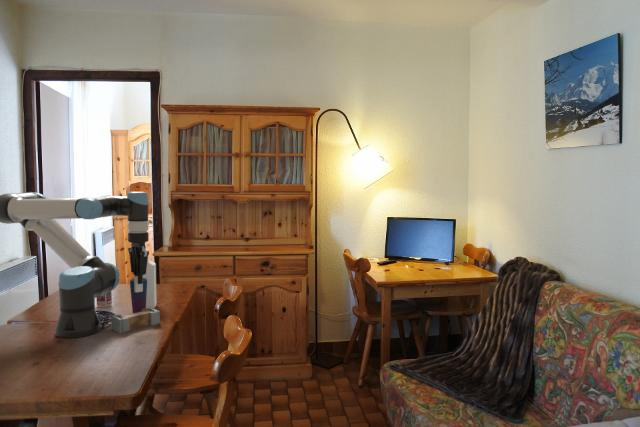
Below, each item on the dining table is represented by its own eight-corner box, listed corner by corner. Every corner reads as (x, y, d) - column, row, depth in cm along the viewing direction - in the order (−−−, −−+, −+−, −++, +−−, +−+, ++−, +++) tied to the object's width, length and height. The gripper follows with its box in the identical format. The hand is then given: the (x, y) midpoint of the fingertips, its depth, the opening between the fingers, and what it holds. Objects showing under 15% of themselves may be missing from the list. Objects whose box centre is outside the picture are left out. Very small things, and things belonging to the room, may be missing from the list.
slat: (124, 331, 186) (124, 318, 186) (119, 329, 188) (119, 316, 188) (153, 324, 195) (152, 311, 195) (148, 322, 197) (147, 310, 197)
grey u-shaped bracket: (120, 326, 191) (120, 313, 191) (129, 330, 186) (129, 317, 186) (111, 328, 189) (111, 315, 188) (120, 333, 184) (120, 319, 183)
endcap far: (151, 325, 193) (151, 312, 192) (142, 321, 198) (142, 309, 197) (159, 323, 195) (159, 311, 195) (150, 319, 200) (150, 307, 200)
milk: (140, 308, 216) (139, 258, 214) (142, 305, 222) (141, 256, 220) (155, 308, 217) (153, 258, 215) (156, 304, 223) (155, 255, 221)
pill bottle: (109, 303, 224) (108, 279, 223) (113, 306, 219) (113, 281, 218) (94, 305, 220) (94, 280, 219) (98, 308, 216) (98, 283, 215)
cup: (142, 317, 203) (141, 281, 201) (127, 316, 204) (126, 280, 203) (151, 313, 209) (150, 278, 208) (136, 312, 211) (135, 277, 209)
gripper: (155, 232, 190) (155, 293, 192) (139, 229, 199) (140, 287, 201) (136, 234, 185) (137, 296, 187) (121, 230, 194) (121, 289, 196)
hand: (138, 291), depth 194 cm, fingers closed
